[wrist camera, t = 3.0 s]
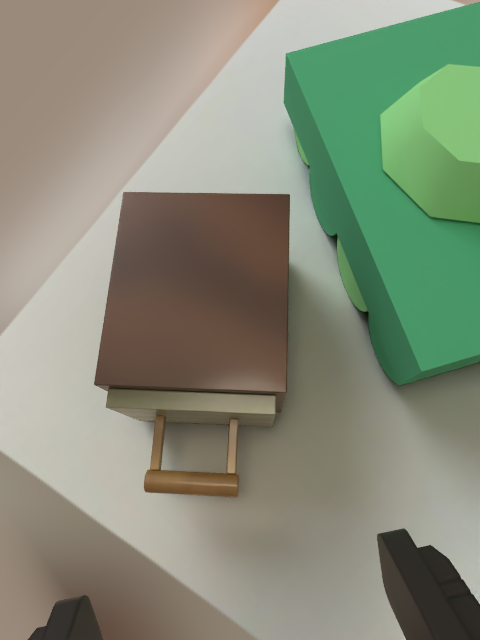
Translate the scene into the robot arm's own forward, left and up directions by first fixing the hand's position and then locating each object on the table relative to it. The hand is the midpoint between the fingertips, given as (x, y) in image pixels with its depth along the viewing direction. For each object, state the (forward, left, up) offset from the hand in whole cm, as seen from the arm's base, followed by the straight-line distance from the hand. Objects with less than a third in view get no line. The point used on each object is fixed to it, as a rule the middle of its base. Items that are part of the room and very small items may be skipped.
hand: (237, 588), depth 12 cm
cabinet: (-14, +5, -22) cm, 27 cm away
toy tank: (-9, +25, -22) cm, 34 cm away
